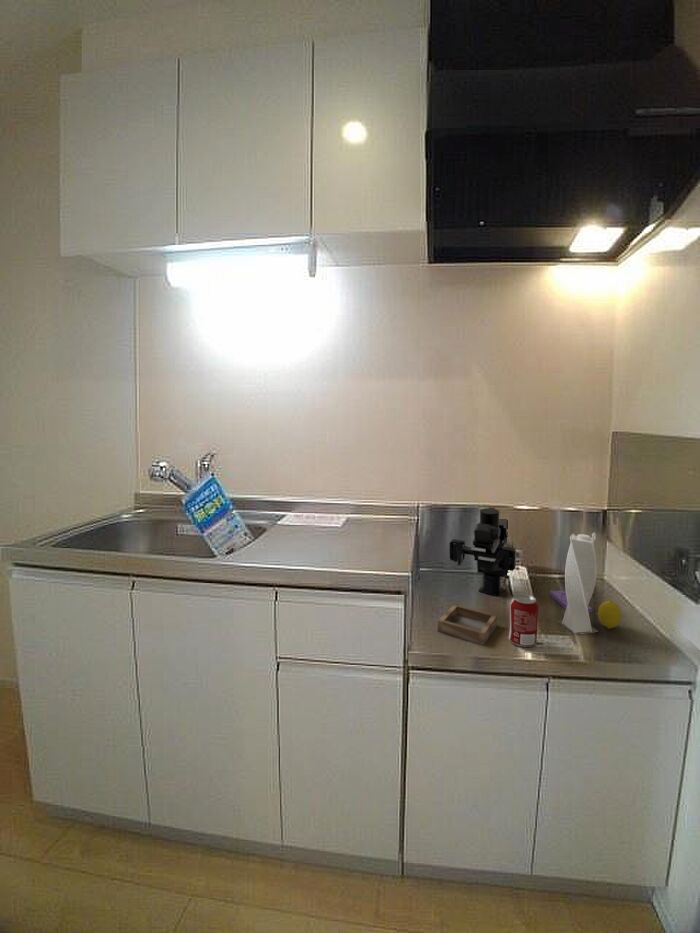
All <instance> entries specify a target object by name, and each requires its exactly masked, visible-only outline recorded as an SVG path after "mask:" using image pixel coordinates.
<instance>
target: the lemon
mask: <svg viewBox="0 0 700 933" xmlns="http://www.w3.org/2000/svg"><path fill="white" fill-rule="evenodd" d="M597 618H598V620H599V622H600V624H602V625H603V626H604V627H606V629H612V628H616V627H617V626H619V625H620V623H621V621H622V611H621V608H620V607H619V605H618V604H617V603H616V602H614V601H613V600H607V601H604V602H602V603H601V604H600V605H599V607H598V610H597Z"/></svg>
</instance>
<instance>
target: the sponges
mask: <svg viewBox="0 0 700 933" xmlns="http://www.w3.org/2000/svg"><path fill="white" fill-rule="evenodd" d="M550 596H552V598H553V599H555V601H556V602H557V603H559V604H560V605H561V606H562V607H563V608H564V609H565V610H566V608H567V604H568V603H567V597H566V590H564V591H563V590H550ZM587 607H588V611H591V612H592V611H593V610H592V609H593V608H592V607H591V606H589V605H588V606H587Z"/></svg>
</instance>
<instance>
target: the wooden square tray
mask: <svg viewBox="0 0 700 933" xmlns="http://www.w3.org/2000/svg"><path fill="white" fill-rule="evenodd" d="M497 625H498V614H494V613H490V612H486V611H482V610H479V609H475V608H470V607H467V606H463V605H459V604H455V603H454V604H453V605H452V606H451V607H450V608H448V610H447V611H445V613H444V614H443V615H442V616H441V617H440V618H439V619H438V620H437V632H439V633H441V634H445V635H449V636H451V635H452V637H456V638H458V637H459V639H462V640H465V641H468V642H472V643H475V644H478V645H481V646H484V645H485V644H486V642H487V641H488V639H489V638H490V636H491V635H492V634H493V633H494V630H495V629H496V628H497Z"/></svg>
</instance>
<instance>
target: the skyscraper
mask: <svg viewBox="0 0 700 933" xmlns="http://www.w3.org/2000/svg"><path fill="white" fill-rule="evenodd" d="M569 540H570V543H569V547H568V551H567V554H566V555H567V556H566V561H565V567H564V568H565V571H564V585H565V591H566V597H567V603H568V604H567V608H566V609H565V611H564V614H563V618H562V620H558V621H557V623H559V624H560V625H562V627H563V628H565V629H566V630H567V631H569V632H570V631H571V633H572V634H573V633H574V634H577V635H582V634H581V633H588V634H596V633H595V632H598V633H599V630H597V629H596V628H594V627H593V626H592V624H591V619H590V614H589V613H590V612H588V607H587V606H589V604H590V601H591V599H592V596H593V593H594V590H595V587H596V581H597V574H598V573H597V572H598V571H597V570H598V569H597V568H598V566H597V555H596V548H595V541H596V540H597V533H596V532H595V531H594V532H592V534H591V536H590V535H588V534H582V533H579V534H577V535H575V533H572V534H571V535H570V536H569ZM574 634H573V635H574Z"/></svg>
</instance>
